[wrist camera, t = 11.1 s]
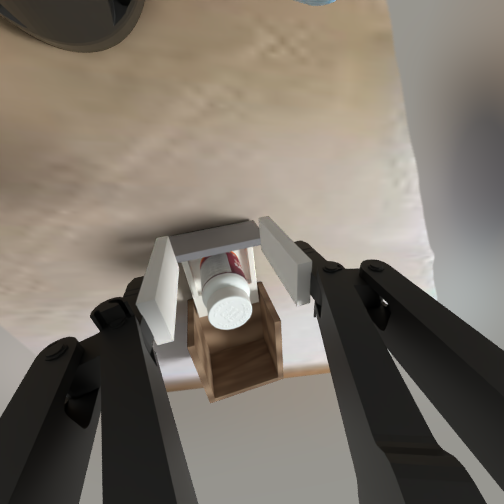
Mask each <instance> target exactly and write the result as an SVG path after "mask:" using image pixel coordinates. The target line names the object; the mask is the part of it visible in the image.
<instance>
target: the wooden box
mask: <svg viewBox="0 0 504 504" xmlns="http://www.w3.org/2000/svg"><path fill="white" fill-rule="evenodd" d="M257 289H258V298H259V302H256V303H253V304H251V305H252V314H251V316H250V318H249V319H248V320H247V321H246V322H245V323H244V324H243V325H241V326H239V327H237V328H234V329H229V330H223V329H218V328H216V327H214V326H213V325H212V324H211V323H210V322H209V319H208V315H207V316H204V317H200V318H199V314H198V311H197V308H196V305H195V302H194V299H191V300H188V324H187V348H188V351H189V353H190V355H191V358H192V360H193V363H194V365H195V367H196V370H197V372H198V375H199V377H200V380H201V382H202V384H203V387H204V389H205V391H206V394H207V396H208V399H209V401H210V403H213V402H215V401H218V400H222V399H225V398H228V397H231V396H234V395H236V394H239V393H242V392H245V391H248V390H251V389H254V388H257V387H260V386H263V385H266V384H269V383H272V382H275V381H278V380H281V379H283V357H282V335H281V320H280V318H279V316H278V314H277V312H276V310H275V308H274V306H273V304H272V302H271V300H270V298H269V296H268V294H267V292H266V290H265V288H264V286H263V284H262V282H259V283H257Z"/></svg>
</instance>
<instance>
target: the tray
mask: <svg viewBox="0 0 504 504" xmlns="http://www.w3.org/2000/svg"><path fill="white" fill-rule="evenodd" d="M169 240H170V243H171V246H172V249H173V252H174V255H175V258H176V260H177V263H180V262H181V263H182V266H183V269H184V272H185V275H186V278H187V281H188V284H189V287H190V290H191V293H192V296H193V299H194V302H195V305H196V308H197V311H198V314H199V318H200V317H204V316H207V315H208V313H207V308H206V307H205V305H204V303H203V300H202V290H201V276H200V262H201V259H202V258H203V257H208V256H212V255H217V254H221V253H226V252H231V251H233V252H234V253H235V254H236V255H237V257H238V259H239V262H240V264H241V267H242V270H243V272H244V275H245V277H246V280H247V282H248V285H249V288H250V296H249V299H250V302H251V304H253V303H256V302H259V298H258V289H257V281H256V272H255V263H254V255H253V247H254V246H258V245H261V240H260V229H259V227H258V226H257V225H256V223H255V222H254V221H253V220H252V221H246V222H241V223H236V224H231V225H226V226H221V227H216V228H211V229H206V230H201V231H196V232H190V233H185V234H180V235H175V236H170V237H169Z"/></svg>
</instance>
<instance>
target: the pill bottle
mask: <svg viewBox="0 0 504 504" xmlns="http://www.w3.org/2000/svg"><path fill="white" fill-rule="evenodd" d="M200 276H201V290H202V300H203V303H204V305H205V307H206V308H207V313H208V319H209V322H210V323H211V324H212V325H213V326H214V327H216V328H218V329H223V330H229V329H234V328H237V327H239V326H241V325H243V324H244V323H245V322H246V321H247V320H248V319H249V318H250V316H251V314H252V305H251V302H250V299H249V296H250V288H249V285H248V282H247V280H246V277H245V275H244V272H243V270H242V267H241V264H240V262H239V259H238V257H237V255H236V254H235V253H234V252H233V251H231V252H226V253H221V254H217V255H212V256H208V257H203V258H202V259H201V262H200Z"/></svg>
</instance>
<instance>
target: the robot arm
mask: <svg viewBox="0 0 504 504" xmlns="http://www.w3.org/2000/svg"><path fill="white" fill-rule="evenodd" d="M144 1H145V0H0V16H2V17H3V18H5V19H6V20H8V21H9V22H11V23H12V24H14V25H15V26H17V27H19V28H20V29H22V30H23V31H25V32H27V33H28V34H30V35H32V36H33V37H35V38H37V39H39V40H41V41H43V42H45V43H47V44H50V45H52V46H55V47H58V48H61V49H65V50H69V51H74V52H98V51H103V50H106V49H109V48H111V47H113V46H115V45H117V44H118V43H120V42H121V41H122V40H123V39H125V38H126V37H127V36H128V34H129V33H130V32H131V31H132V29H133V28H134V27H135V25H136V23H137V21H138V19H139V17H140V15H141V12H142V9H143V5H144ZM294 1H298V2H301V3H304V4H307V5H312V6H321V5H326V4H329V3H332V2H334V1H336V0H294ZM259 229H260V240H261V250H262V252H263V253H264V255H265V256H266V258H267V260H268V261H269V263H270V264H271V266H272V267H273V269H274V271H275V272H276V274H277V275H278V277H279V279H280V280H281V282H282V283H283V285H284V287H285V288H286V290H287V291H288V293H289V294H290V296H291V298H292V299H293V301H294V302H295V304H296V306H301V305H304V304H308V303H310V295H311V296H312V297H313V299H314V300H315V305H314V317H316V315H317V319H318V323H319V327H320V331H321V335H322V339H323V343H324V347H325V351H326V356H327V360H328V364H329V368H330V372H331V376H332V379H333V383H334V388H335V392H336V396H337V400H338V404H339V408H340V412H341V416H342V420H343V424H344V428H345V432H346V436H347V440H348V444H349V448H350V452H351V456H352V460H353V464H354V468H355V473H356V477H357V484H358V497H359V504H487V503H486V502H485V500H484V498H483V497H482V495H481V493H480V491H479V489H478V488H477V486H476V484H475V483H474V481H473V480H472V478H471V477H470V475H469V473H468V472H467V470H465V467H464V466H463V465H462V464H461V463H460V462H459V461H458V460H457V459H456V458H455V457H454V456H453V455H451V454H449V453H448V452H446V451H445V450H443V449H442V448H441V447H440V446H439V445H438V443H437V442H436V440H435V438H434V437H433V435H432V433H431V431H430V429H429V427H428V425H427V424H426V422H425V420H424V418H423V416H422V414H421V412H420V410H419V408H418V407H417V405H416V403H415V401H414V399H413V397H412V395H411V393H410V391H409V389H408V388H407V386H406V384H405V382H404V380H403V378H402V376H401V374H400V372H399V370H398V369H397V367H396V365H395V363H394V361H393V359H392V357H391V355H390V353H389V351H390V352H391V354H392V355H393V356H394V357H395V358H396V360H397V361H398V362H399V363H400V364H401V366H402V367H403V368H404V369H405V371H406V372H407V373H408V375H409V376H410V377H411V378H412V379H413V381H414V382H415V383H416V384H417V385H418V387H419V388H420V389H421V390H422V392H423V393H424V394H425V395H426V397H427V398H428V399H429V400H430V402H431V403H432V404H433V405H434V406H435V408H436V409H437V410H438V411H439V413H440V414H441V415H442V416H443V417H444V419H445V420H446V421H447V422H448V423H449V425H450V426H451V427H452V429H453V430H454V431H455V432H456V433H457V435H458V436H459V437H460V438H461V439H462V441H463V442H464V443H465V444H466V446H467V447H468V448H469V449H470V451H471V452H472V453H473V454H474V456H475V457H476V458H477V459H478V460H479V462H480V463H481V464H482V465H483V467H484V468H485V469H486V470H487V471H488V473H489V474H490V475H491V476H492V478H493V479H494V480H495V481H496V483H497V484H498V485H499V486H500V487H501V489H502V490H503V491H504V351H503V350H502V349H500V348H499V347H498V346H497V345H495V344H494V343H493V342H491V341H490V340H488V339H487V338H486V337H485V336H483V335H482V334H481V333H479V332H478V331H476V330H475V329H474V328H472V327H471V326H470V325H468V324H467V323H466V322H464V321H463V320H462V319H460V318H459V317H458V316H456V315H455V314H454V313H452V312H451V311H450V310H448V309H447V308H445V307H444V306H443V305H442V304H440V303H439V302H438V301H436V300H435V299H434V298H432V297H431V296H430V295H428V294H427V293H426V292H424V291H423V290H422V289H420V288H419V287H418V286H416V285H415V284H414V283H412V282H411V281H410V280H408V279H407V278H406V277H404V276H403V275H402V274H400V273H399V272H398V271H396V270H395V269H394V268H392V267H391V266H389V265H388V264H386V263H385V262H382V261H379V260H365V261H363V262H362V263H361V265H360V269H345V268H344V267H343V266H342V265H341V264H339V263H336V262H332V261H326V260H325V259H324V258H323V257H322V256H321V255H320V254H319V253H318V252H317V251H316V250H314V249H313V248H312V247H311V246H310V245H309V244H308V243H306V242H303V241H296V242H293V241H292V240H291V239H290V238H289V237H288V236H287V235H286V234H285V233H284V232H283V231H282V230H281V229H280V228H279V226H278V225H277V224H276V223H275V222H274V221H273V220H272V219H271V218H270V217H269V216H266V217H261V218H259ZM178 277H179V266H178V263H177V260H176V258H175V255H174V252H173V249H172V246H171V243H170V240H169V237H168V236H164V237H159V238H156V241H155V244H154V247H153V251H152V254H151V257H150V260H149V263H148V266H147V270H146V273H145V276H142V277H137V278H134V279H133V280H132V281H131V282H130V283H129V284H128V286H127V288H126V292H125V293H124V296H123V297H115V298H112V299H109V300H107V301H105V302H103V303H101V304H100V305H98V306H97V307H96V308H95V309H94V310H93V311H92V312H91V315H90V318H91V319H92V320H93V322H94V323H95V325H96V326H97V328H98V329H99V330H100V332H99V333H97V334H96V335H94V336H91V337H89V338H87V339H85V340H83V341H81V342H78V341H77V339H76V338H75V337H66V338H62V339H60V340H57V341H55V342H53V343H52V344H50V345H48V346H47V347H46V348H45V349H44V350H42V351H41V352H40V353H39V355H38V356H37V357H36V358H35V360H34V362H33V363H32V365H31V367H30V369H29V370H28V372H27V374H26V375H25V377H24V379H23V380H22V382H21V384H20V385H19V387H18V389H17V390H16V392H15V394H14V395H13V397H12V399H11V401H10V402H9V404H8V406H7V407H6V409H5V411H4V412H3V414H2V416H1V417H0V504H79V501H80V496H81V492H82V488H83V484H84V479H85V475H86V471H87V467H88V463H89V459H90V454H91V450H92V446H93V442H94V438H95V434H96V429H97V425H98V421H99V417H100V413H101V424H102V425H101V426H102V486H103V504H198V502H197V498H196V494H195V491H194V487H193V484H192V480H191V477H190V473H189V470H188V466H187V462H186V459H185V455H184V452H183V448H182V445H181V441H180V438H179V434H178V431H177V427H176V424H175V420H174V417H173V413H172V409H171V406H170V402H169V399H168V395H167V392H166V388H165V385H164V381H163V378H162V374H161V371H160V367H159V364H158V360H157V357H156V353H155V351H154V349H153V347H152V345H153V339H154V340H155V342H156V344H157V345H161V344H165V343H168V342H172V341H174V331H175V317H176V304H177V290H178ZM383 299H384V300H385V301H386V302H387V303H388V305H387V304H385V303H384V302H383ZM387 349H388V350H389V351H388V350H387Z"/></svg>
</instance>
